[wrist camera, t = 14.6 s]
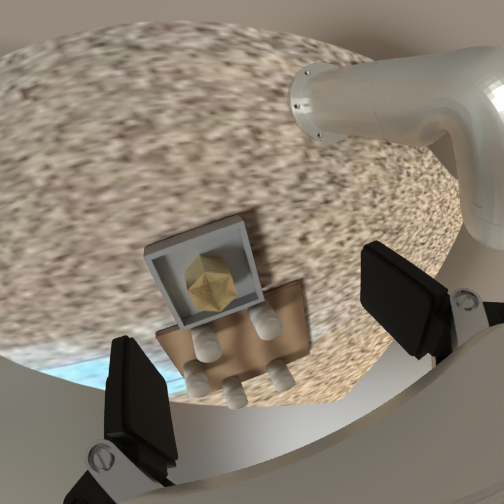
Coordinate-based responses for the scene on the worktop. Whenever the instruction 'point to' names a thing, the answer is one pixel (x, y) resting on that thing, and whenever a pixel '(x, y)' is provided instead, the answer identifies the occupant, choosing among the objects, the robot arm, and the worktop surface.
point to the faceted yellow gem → (209, 283)
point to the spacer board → (241, 346)
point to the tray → (212, 244)
